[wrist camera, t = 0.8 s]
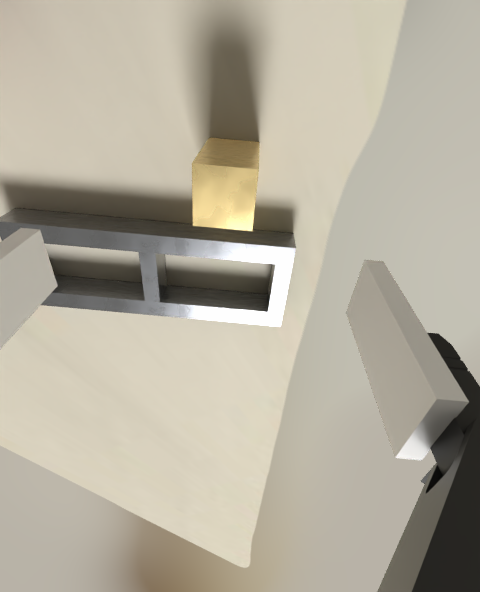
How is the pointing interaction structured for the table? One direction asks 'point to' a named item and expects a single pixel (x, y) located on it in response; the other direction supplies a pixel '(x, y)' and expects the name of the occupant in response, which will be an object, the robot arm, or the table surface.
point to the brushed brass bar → (225, 184)
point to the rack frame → (163, 265)
